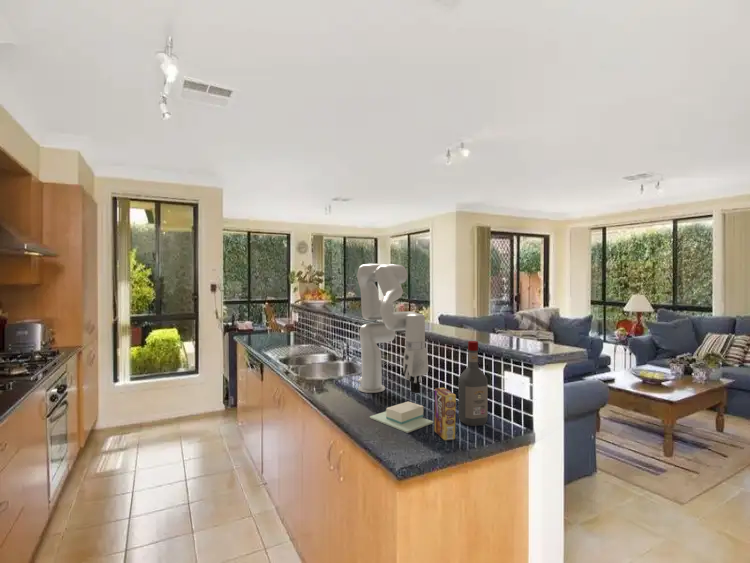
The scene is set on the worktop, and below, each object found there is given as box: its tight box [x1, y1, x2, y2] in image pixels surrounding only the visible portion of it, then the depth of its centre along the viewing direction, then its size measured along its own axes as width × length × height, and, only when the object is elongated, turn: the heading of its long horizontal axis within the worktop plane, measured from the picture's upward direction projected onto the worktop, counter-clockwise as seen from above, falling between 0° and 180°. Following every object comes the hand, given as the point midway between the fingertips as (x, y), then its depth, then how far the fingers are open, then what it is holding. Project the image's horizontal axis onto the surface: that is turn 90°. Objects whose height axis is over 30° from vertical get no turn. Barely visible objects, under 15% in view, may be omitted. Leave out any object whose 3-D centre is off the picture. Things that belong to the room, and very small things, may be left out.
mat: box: [369, 410, 435, 434], centre depth 155 cm, size 20×14×1 cm
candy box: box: [433, 387, 457, 441], centre depth 141 cm, size 9×4×15 cm, turn 14°
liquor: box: [458, 340, 489, 427], centre depth 153 cm, size 9×9×30 cm
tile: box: [385, 401, 424, 424], centre depth 157 cm, size 8×4×12 cm
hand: (415, 392), depth 160 cm, fingers closed
